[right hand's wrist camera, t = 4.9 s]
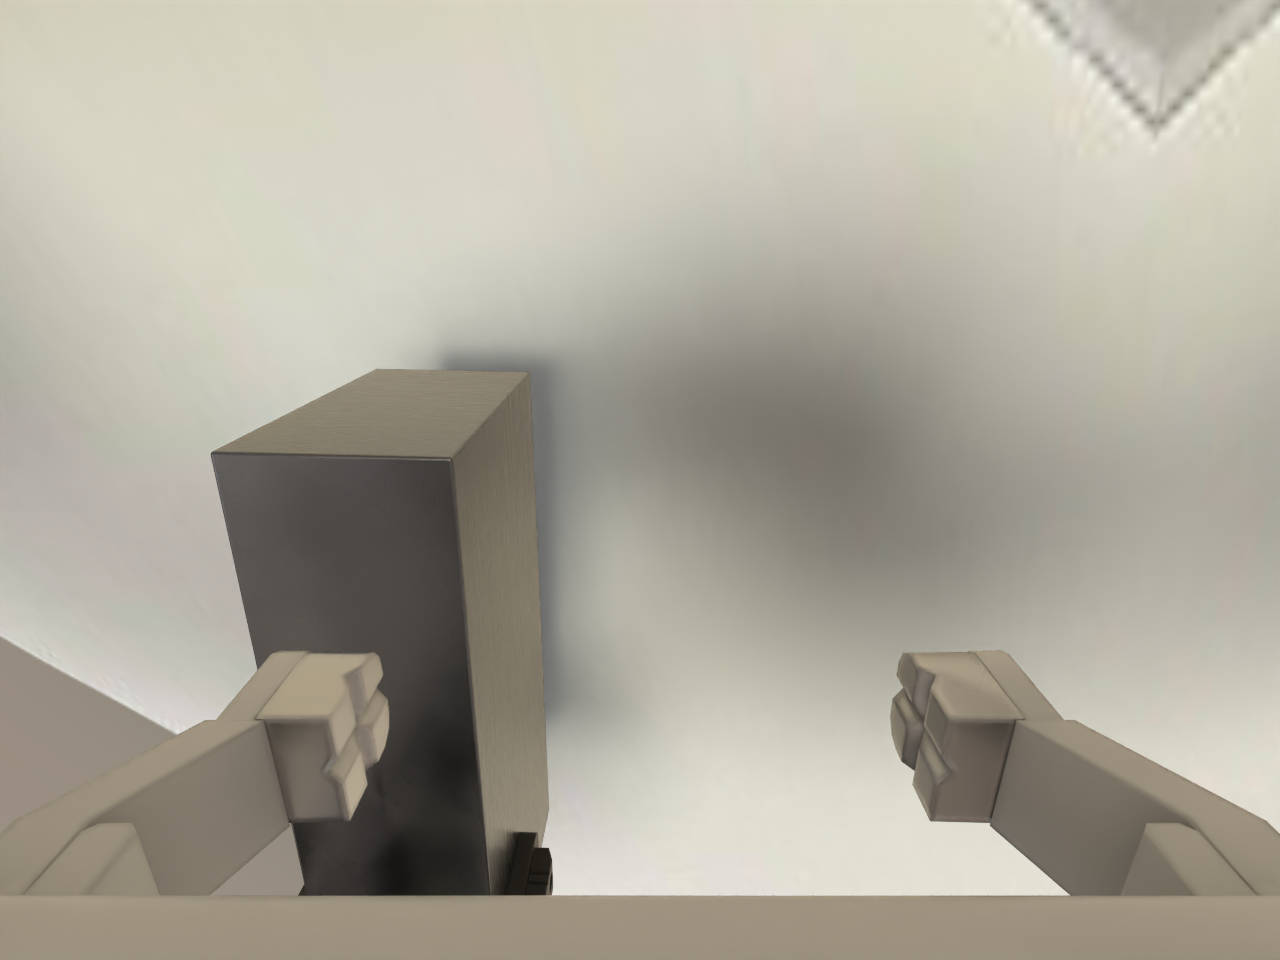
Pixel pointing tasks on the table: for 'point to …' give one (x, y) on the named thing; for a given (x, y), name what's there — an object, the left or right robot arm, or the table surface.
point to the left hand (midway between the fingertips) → (447, 845)
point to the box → (408, 612)
